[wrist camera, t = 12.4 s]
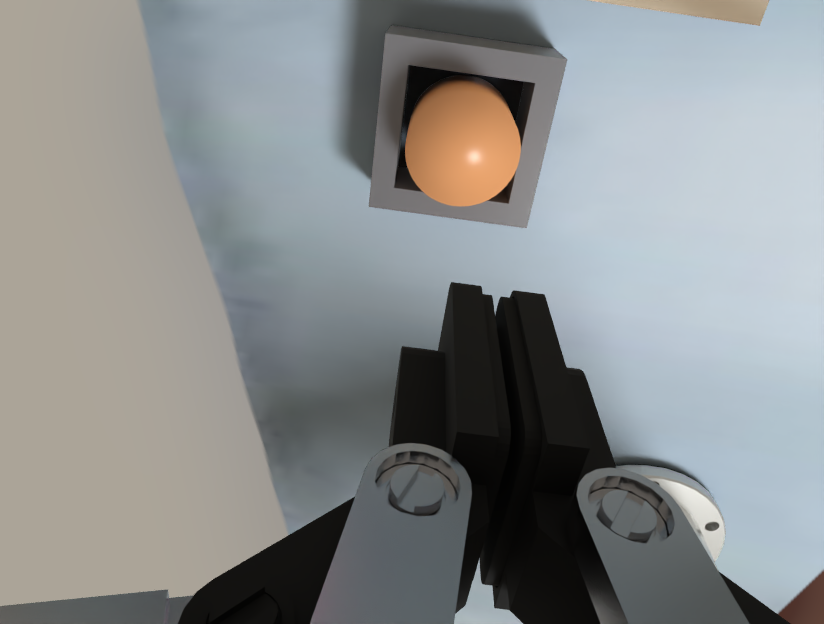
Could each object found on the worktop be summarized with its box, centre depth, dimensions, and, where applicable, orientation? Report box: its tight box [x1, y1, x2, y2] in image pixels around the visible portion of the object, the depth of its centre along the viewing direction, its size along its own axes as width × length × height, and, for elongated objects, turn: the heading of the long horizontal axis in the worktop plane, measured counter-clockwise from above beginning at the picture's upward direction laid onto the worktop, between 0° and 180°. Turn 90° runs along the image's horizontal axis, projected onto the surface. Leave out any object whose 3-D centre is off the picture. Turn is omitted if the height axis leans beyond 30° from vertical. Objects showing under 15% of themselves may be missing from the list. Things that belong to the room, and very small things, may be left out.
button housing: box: [369, 25, 567, 228], centre depth 26 cm, size 7×7×3 cm
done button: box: [405, 75, 521, 207], centre depth 25 cm, size 4×4×4 cm
